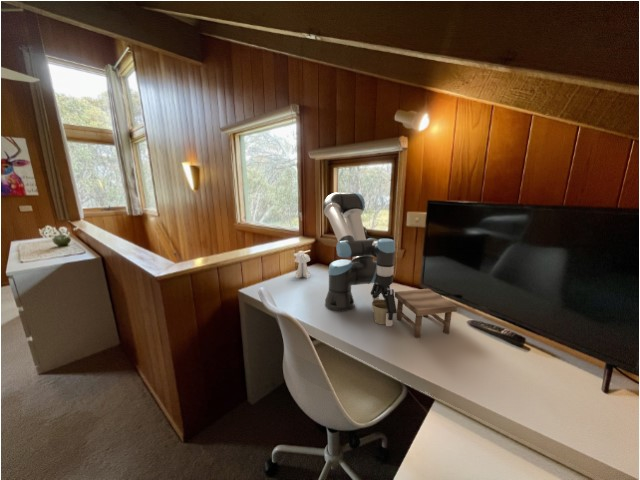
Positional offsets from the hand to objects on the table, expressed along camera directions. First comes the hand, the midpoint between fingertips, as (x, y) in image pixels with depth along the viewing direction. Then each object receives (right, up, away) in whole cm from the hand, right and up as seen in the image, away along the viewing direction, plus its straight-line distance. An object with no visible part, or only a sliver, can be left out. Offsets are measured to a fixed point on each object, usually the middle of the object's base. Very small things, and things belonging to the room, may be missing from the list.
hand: (381, 317), depth 112 cm
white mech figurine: (-40, +11, +59) cm, 72 cm away
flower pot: (0, -2, 0) cm, 2 cm away
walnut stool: (+17, -2, -3) cm, 18 cm away
